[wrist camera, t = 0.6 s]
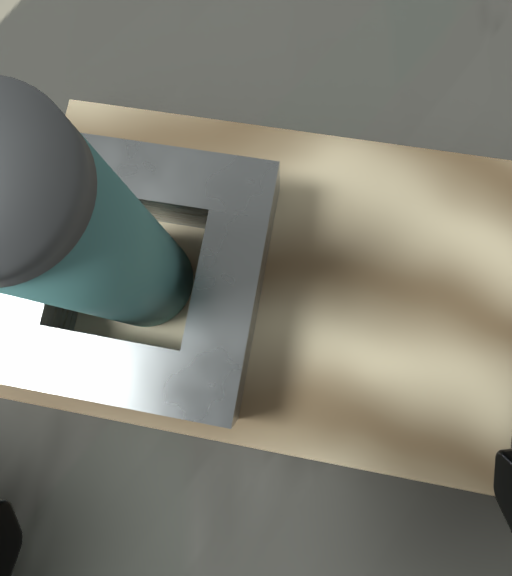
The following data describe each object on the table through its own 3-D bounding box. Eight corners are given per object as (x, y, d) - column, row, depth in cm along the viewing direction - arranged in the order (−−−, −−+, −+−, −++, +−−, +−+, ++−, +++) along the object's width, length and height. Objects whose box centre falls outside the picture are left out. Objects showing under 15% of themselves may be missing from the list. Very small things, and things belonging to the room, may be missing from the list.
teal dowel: (183, 334, 20) (46, 297, 8) (91, 317, 21) (-163, 260, 9) (201, 242, 21) (99, 88, 9) (112, 228, 21) (-98, 61, 9)
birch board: (776, 545, 19) (818, 560, 17) (10, 393, 22) (-10, 396, 20) (776, 213, 21) (813, 202, 20) (82, 115, 24) (69, 99, 22)
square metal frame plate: (238, 418, 19) (230, 429, 16) (9, 374, 20) (-37, 376, 17) (279, 189, 21) (279, 161, 18) (66, 157, 22) (32, 125, 19)
